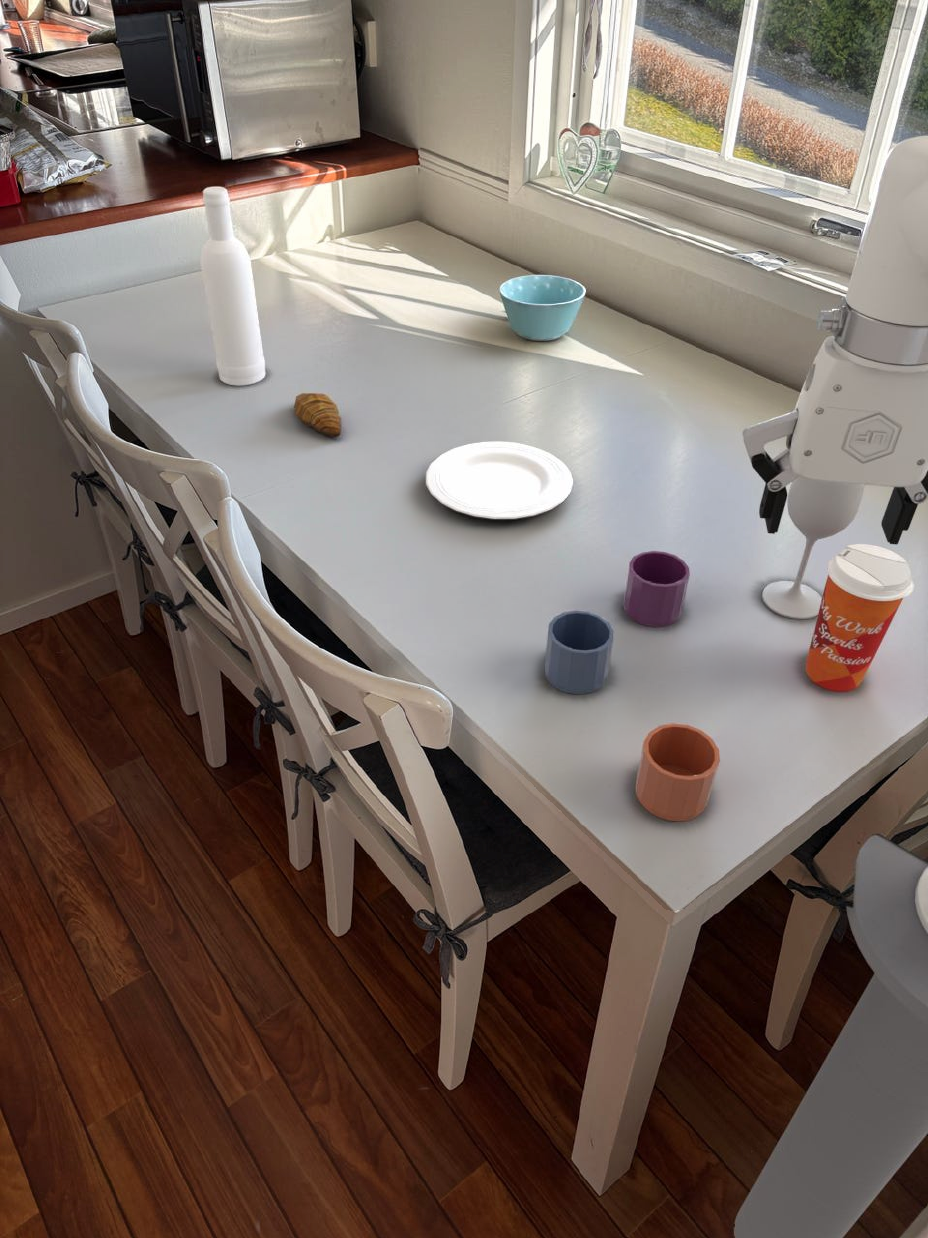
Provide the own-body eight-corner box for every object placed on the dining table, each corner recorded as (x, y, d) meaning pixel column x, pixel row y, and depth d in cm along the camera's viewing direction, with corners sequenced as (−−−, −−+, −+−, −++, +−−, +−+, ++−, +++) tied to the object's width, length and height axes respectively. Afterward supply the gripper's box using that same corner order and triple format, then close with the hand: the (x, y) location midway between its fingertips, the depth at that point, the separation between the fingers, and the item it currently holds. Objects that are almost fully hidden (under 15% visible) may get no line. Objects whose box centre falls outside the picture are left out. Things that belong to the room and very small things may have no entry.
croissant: (280, 410, 148) (276, 381, 145) (318, 400, 151) (315, 372, 148) (316, 446, 140) (313, 416, 136) (356, 435, 142) (354, 405, 139)
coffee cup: (781, 674, 102) (816, 564, 92) (815, 638, 107) (852, 531, 97) (853, 711, 98) (897, 601, 88) (885, 673, 102) (931, 564, 93)
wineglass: (822, 626, 108) (876, 470, 95) (756, 611, 110) (799, 456, 97) (827, 589, 114) (878, 437, 100) (764, 575, 116) (806, 424, 102)
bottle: (272, 368, 160) (249, 183, 141) (257, 388, 154) (230, 198, 135) (228, 364, 161) (199, 180, 142) (211, 383, 155) (178, 194, 136)
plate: (552, 447, 140) (552, 435, 139) (589, 522, 125) (590, 510, 123) (416, 457, 137) (416, 445, 136) (437, 535, 122) (436, 523, 120)
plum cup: (693, 612, 110) (702, 572, 106) (652, 634, 107) (660, 594, 103) (651, 583, 114) (658, 544, 110) (611, 604, 111) (617, 564, 107)
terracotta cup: (722, 798, 88) (735, 756, 84) (672, 833, 85) (683, 791, 81) (669, 755, 93) (679, 713, 89) (620, 786, 89) (628, 744, 85)
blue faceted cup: (620, 677, 101) (627, 635, 97) (573, 703, 98) (578, 661, 94) (577, 643, 105) (582, 602, 102) (531, 667, 102) (535, 626, 98)
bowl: (480, 330, 174) (481, 286, 169) (538, 309, 182) (540, 267, 177) (540, 356, 165) (544, 311, 160) (598, 333, 174) (603, 289, 168)
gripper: (775, 344, 64) (727, 546, 75) (1036, 362, 62) (948, 565, 73) (763, 304, 70) (720, 497, 81) (1002, 319, 68) (925, 514, 79)
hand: (829, 529), depth 77 cm, fingers open, 9 cm apart
